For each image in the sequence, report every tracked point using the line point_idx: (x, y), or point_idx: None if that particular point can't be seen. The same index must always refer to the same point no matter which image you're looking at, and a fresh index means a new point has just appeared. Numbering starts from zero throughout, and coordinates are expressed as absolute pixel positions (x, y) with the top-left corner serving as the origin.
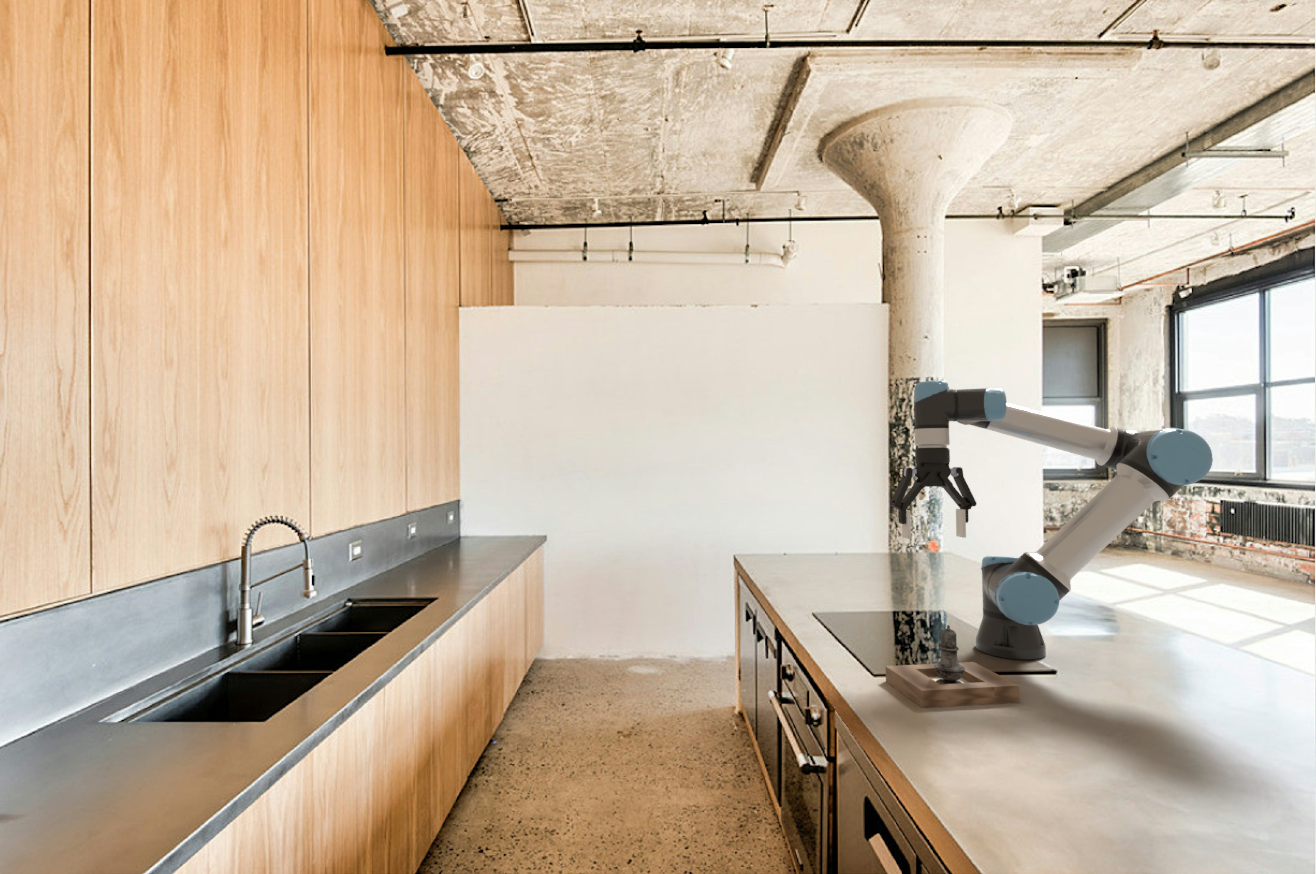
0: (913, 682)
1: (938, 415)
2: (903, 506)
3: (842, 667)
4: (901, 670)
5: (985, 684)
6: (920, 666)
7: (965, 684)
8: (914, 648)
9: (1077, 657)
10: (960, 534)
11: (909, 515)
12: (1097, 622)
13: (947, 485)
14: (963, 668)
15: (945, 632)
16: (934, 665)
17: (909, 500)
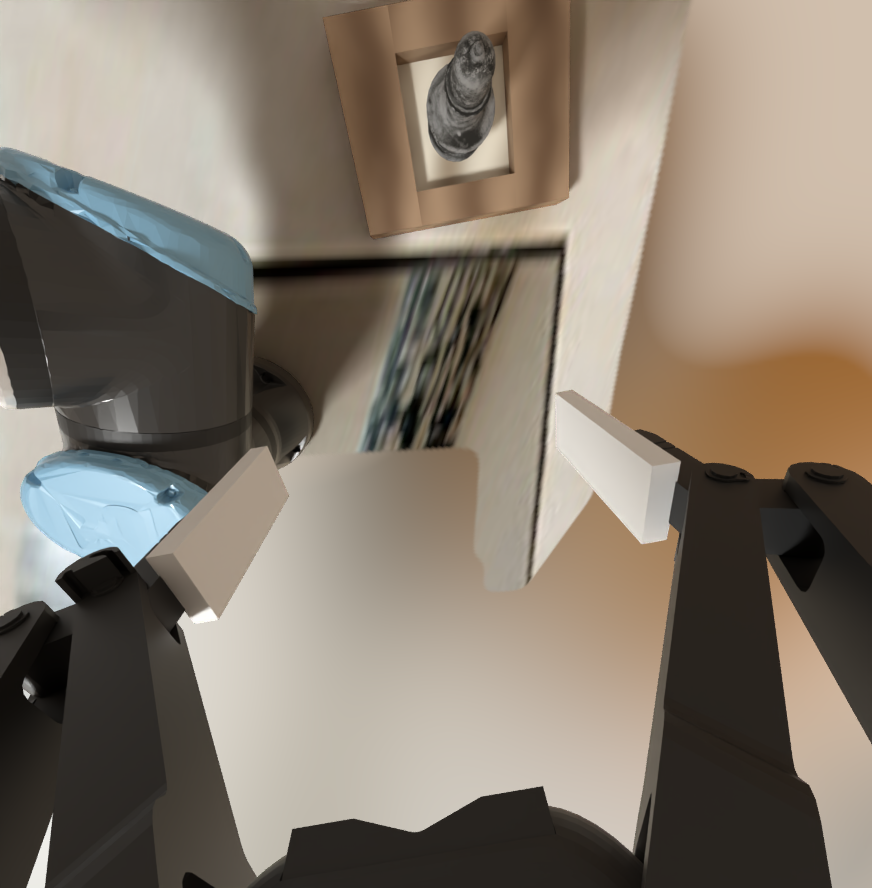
0: (561, 50)
1: None
2: (746, 477)
3: (600, 298)
4: (549, 159)
5: (401, 28)
6: (496, 195)
7: (448, 28)
8: (426, 421)
9: None
10: (270, 471)
11: (635, 445)
12: (52, 588)
13: (158, 861)
14: (435, 81)
15: (490, 42)
16: (493, 115)
17: (731, 529)
